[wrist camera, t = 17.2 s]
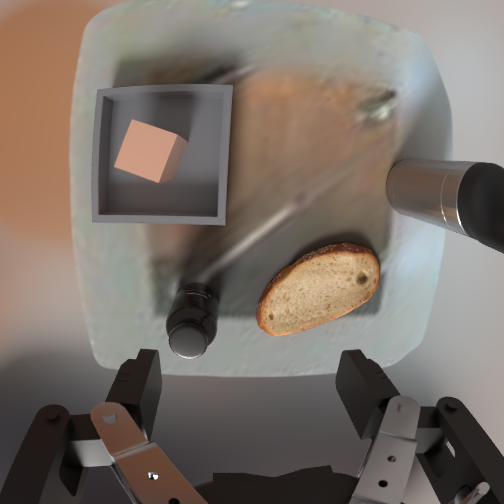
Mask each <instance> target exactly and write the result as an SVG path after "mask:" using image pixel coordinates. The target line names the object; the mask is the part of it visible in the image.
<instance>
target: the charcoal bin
mask: <svg viewBox="0 0 504 504" xmlns="http://www.w3.org/2000/svg"><path fill="white" fill-rule="evenodd" d="M232 92H233V85H220V84H164V85H143V86H129V87H118V88H108V89H99V90H97V99H96V108H95V119H94V132H93V150H92V222H97V223H161V224H199V225H225V216H226V194H227V174H228V155H229V138H230V121H231V106H232ZM132 119H133V120H136V121H139V122H142V123H145V124H148V125H151V126H154V127H157V128H160V129H163V130H166V131H169V132H172V133H175V134H177V135H179V136H180V137H182V138H183V139H185V140H186V141H187V142H188V145H187V147H186V149H185V152H184V154H183V157H182V159H181V162H180V164H179V167H178V169H177V172H176V175H175V177H174V180H169V181H165V182H161V183H157V182H155V181H152V180H149V179H146V178H144V177H141V176H138V175H135V174H133V173H130V172H127V171H124V170H122V169H119V168H116V167H114V165H115V162H116V160H117V157H118V154H119V151H120V149H121V146H122V143H123V141H124V138H125V135H126V133H127V130H128V128H129V125H130V123H131V120H132Z"/></svg>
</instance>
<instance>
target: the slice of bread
mask: <svg viewBox="0 0 504 504" xmlns="http://www.w3.org/2000/svg"><path fill="white" fill-rule="evenodd" d="M379 280H380V265H379V262H378V259H377V258H376V256H375V255H374V253H373V252H372V251H371V250H370V249H369V248H367V247H364V246H359V245H355V244H351V243H340V244H332V245H329V246H326V247H322V248H320V249H317V250H315V251H312V252H310V253H308V254H305V255H303V256H302V257H301V258H299V259H298V260H297V261H296V262H295V263H294V264H292V265H290V266H287V267H286V268H284V269H283V270H282V271H281V272H280V273H279V274H277V276H276V277H275V278H274V279H273V280H272V281H271V282H270V283H269V285H268V286H267V287H266V289H265V290H264V292H263V294H262V296H261V298H260V300H259V303H258V307H257V322H258V326H259V327H260V329H261V330H263V331H265V332H266V333H268V334H270V335H274V336H281V335H287V334H293V333H296V332H299V331H302V330H307V329H309V328H312V327H315V326H317V325H320V324H323V323H326V322H329V321H331V320H333V319H336V318H338V317H340V316H342V315H344V314H346V313H348V312H350V311H352V310H353V309H355V308H357V307H359V306H360V305H362V304H363V303H364V302H366V301H367V300H368V299H369V298H370V297H371V296H372V295H373V294H374V292H375V291H376V289H377V287H378V284H379Z"/></svg>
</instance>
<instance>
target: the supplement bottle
mask: <svg viewBox="0 0 504 504" xmlns="http://www.w3.org/2000/svg"><path fill="white" fill-rule="evenodd" d="M218 309H219V303H218V298H217V296H216V294H215V293H214V292H213V290H212V289H210V288H209V287H207V286H205V285H203V284H198V283H193V284H188V285H186V286H184V287H182V288H181V289H180V290H179V291H178V293H177V295H176V297H175V299H174V302H173V304H172V307H171V309H170V312H169V314H168V317H167V320H166V331H167V334H168V336H169V345H170V347H171V349H172V351H173V352H174V353H176V354H177V355H179V356H180V357H183V358H186V359H192V358H197V357H199V356H201V355H202V354H204V352H205V351H206V349H207V346H209V345H210V344H211V343H212V342H213V340H214V339H215V336H216V333H217V324H218Z"/></svg>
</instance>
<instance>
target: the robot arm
mask: <svg viewBox="0 0 504 504" xmlns="http://www.w3.org/2000/svg"><path fill="white" fill-rule="evenodd" d="M386 191H387V196H388V199H389V202H390V203H391V205H392V207H393V208H394V209H395V210H396V211H397V212H399V213H401V214H403V215H406V216H409V217H413V218H415V219H418V220H421V221H424V222H427V223H430V224H433V225H436V226H439V227H442V228H445V229H448V230H451V231H454V232H456V233H460V234H462V235H465V236H468V237H471V238H473V239H476V240H478V241H479V242H481V243H482V244H484V245H486V246H488V247H491V248H493V249H495V250H497V251H499V252H502V253H504V168H502V167H501V166H499V165H497V164H493V163H484V162H469V161H448V160H420V159H406V160H402V161H400V162H398V163H397V164H395V165H394V166H393V168H392V169H391V171H390V172H389V175H388V178H387V183H386ZM336 389H337V392H338V394H339V396H340V398H341V400H342V402H343V404H344V406H345V408H346V410H347V412H348V414H349V417H350V418H351V421H352V423H353V425H354V427H355V429H356V431H357V433H358V435H359V437H360V439H361V440H363V439H367V438H371V440H372V442H371V444H370V447H369V449H368V452H367V454H366V456H365V458H364V461H363V463H362V466H361V467H360V470H359V472H358V474H357V476H356V477H353V476H350V475H347V474H342V473H334V472H333V471H332V469H331V466H330V465H327V466H321V467H313V468H306V469H301V470H298V471H295V472H292V473H288V474H285V475H281V476H278V477H267V476H259V475H253V474H247V473H213V481H207V482H204V483H200V484H198V485H195V486H193V487H192V486H191V485H190V484H189V482H188V481H187V480H186V479H185V478H184V477H183V476H182V475H181V474H180V472H179V471H178V470H177V469H176V468H175V466H174V465H173V464H172V463H171V462H170V461H169V459H168V458H167V457H166V456H165V454H164V453H163V452H162V451H161V449H160V448H159V447H158V446H157V445H156V443H154V442H150V440H151V436H152V431H153V426H154V422H155V417H156V413H157V408H158V404H159V399H160V395H161V390H162V377H161V368H160V359H159V352H158V350H152V349H140V351H139V354H138V356H137V358H136V359H128V360H127V361H126V362H124V363H123V364H122V365H121V367H120V369H119V371H118V374H117V375H116V378H115V381H114V382H113V384H112V387H111V389H110V392H109V394H108V396H107V398H106V401H105V403H101V404H99V405H97V406H95V407H94V408H93V410H92V411H91V413H90V414H84V415H70V414H69V412H68V410H67V409H66V408H65V407H63V406H61V405H47V406H45V407H43V408H41V409H40V410H39V411H38V412H37V414H36V416H35V418H34V420H33V422H32V424H31V426H30V428H29V430H28V432H27V434H26V436H25V438H24V440H23V442H22V444H21V447H20V449H19V451H18V453H17V455H16V457H15V459H14V462H13V464H12V466H11V468H10V471H9V473H8V476H7V478H6V480H5V483H4V485H3V488H2V490H1V493H0V504H80V502H81V498H82V494H83V489H84V485H85V481H86V477H87V473H88V469H89V466H105V465H110V466H111V468H112V469H113V471H114V473H115V475H116V476H117V478H118V480H119V481H120V483H121V484H122V486H123V488H124V489H125V491H126V492H127V494H128V495H129V497H130V498H131V500H132V501H133V503H134V504H404V503H403V502H401V500H402V497H403V494H404V491H405V487H406V484H407V481H408V477H409V474H410V470H411V466H412V462H413V458H414V454H416V456H417V458H418V460H419V462H420V464H421V466H422V468H423V470H424V472H425V474H426V475H427V477H428V479H429V481H430V483H431V485H432V487H433V489H434V491H435V493H436V495H437V497H438V499H439V501H440V503H441V504H504V457H503V456H502V454H501V453H500V451H499V450H498V448H497V447H496V446H495V444H494V443H493V442H492V440H491V439H490V438H489V436H488V435H487V434H486V432H485V431H484V430H483V429H482V427H481V426H480V425H479V423H478V422H477V421H476V419H475V418H474V417H473V416H472V414H471V413H470V412H469V410H468V409H467V408H466V407H465V405H464V404H463V403H462V402H461V401H460V400H458V399H456V398H453V397H443V398H441V399H439V401H438V402H437V404H436V406H435V407H421V406H420V405H419V403H418V402H417V401H416V400H415V399H413V398H411V397H408V396H403V395H400V393H399V392H398V391H397V389H396V388H395V386H394V385H393V384H392V382H391V381H390V379H389V378H388V377H387V375H386V374H385V373H384V372H383V370H382V368H381V367H380V366H379V364H377V363H376V362H374V361H373V360H371V359H367V358H366V357H365V355H364V354H363V353H362V351H361V350H360V349H357V350H344V351H343V352H342V354H341V358H340V363H339V367H338V371H337V375H336ZM448 441H449V442H450V444H451V445H452V447H453V448H454V451H455V457H454V456H453V455H452V453H451V452H450V450H449V448H448V447H447V445H446V443H447V442H448Z"/></svg>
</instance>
